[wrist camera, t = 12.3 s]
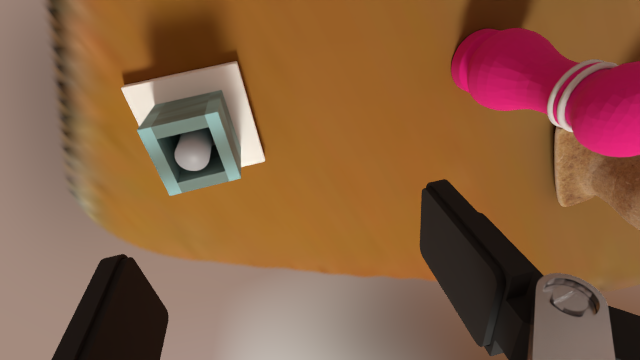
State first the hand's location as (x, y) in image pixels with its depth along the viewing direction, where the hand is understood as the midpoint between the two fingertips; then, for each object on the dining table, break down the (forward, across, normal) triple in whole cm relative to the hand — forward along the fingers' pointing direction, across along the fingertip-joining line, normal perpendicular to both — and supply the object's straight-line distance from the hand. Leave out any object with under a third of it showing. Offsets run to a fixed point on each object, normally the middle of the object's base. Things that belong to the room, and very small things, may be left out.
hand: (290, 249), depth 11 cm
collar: (+23, +7, +4) cm, 24 cm away
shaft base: (+24, +7, +4) cm, 25 cm away
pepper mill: (+24, -22, +4) cm, 33 cm away
